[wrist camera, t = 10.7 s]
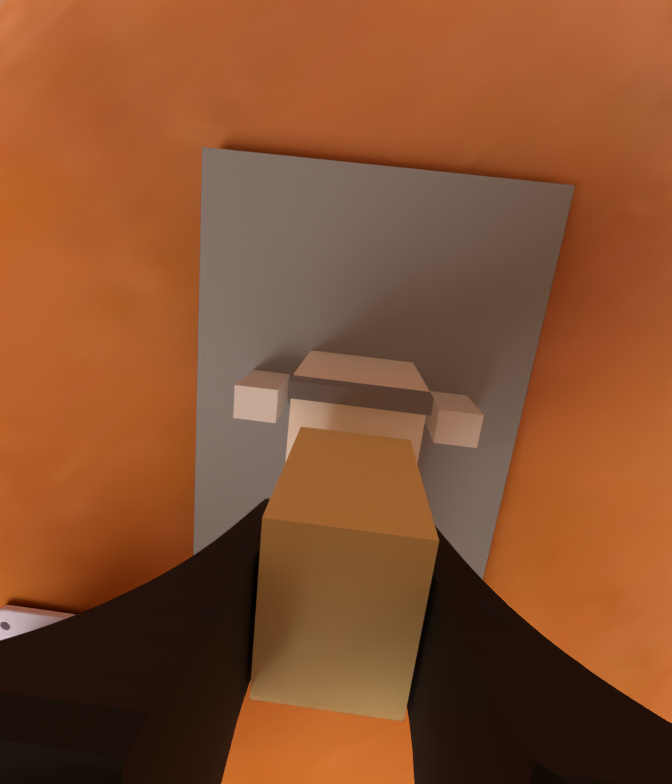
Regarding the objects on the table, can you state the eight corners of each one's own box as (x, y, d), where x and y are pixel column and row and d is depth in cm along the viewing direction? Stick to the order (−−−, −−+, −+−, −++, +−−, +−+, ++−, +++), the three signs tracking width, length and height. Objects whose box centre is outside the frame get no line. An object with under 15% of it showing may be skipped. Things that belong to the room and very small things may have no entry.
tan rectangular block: (389, 565, 13) (403, 721, 8) (289, 552, 13) (249, 698, 8) (410, 439, 12) (438, 541, 7) (300, 426, 12) (262, 517, 7)
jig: (460, 631, 21) (479, 703, 17) (201, 595, 21) (169, 658, 18) (559, 192, 16) (616, 167, 12) (213, 156, 16) (171, 122, 13)
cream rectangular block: (309, 350, 17) (286, 380, 12) (414, 362, 17) (435, 398, 12) (285, 607, 20) (259, 715, 15) (372, 620, 20) (375, 733, 15)
